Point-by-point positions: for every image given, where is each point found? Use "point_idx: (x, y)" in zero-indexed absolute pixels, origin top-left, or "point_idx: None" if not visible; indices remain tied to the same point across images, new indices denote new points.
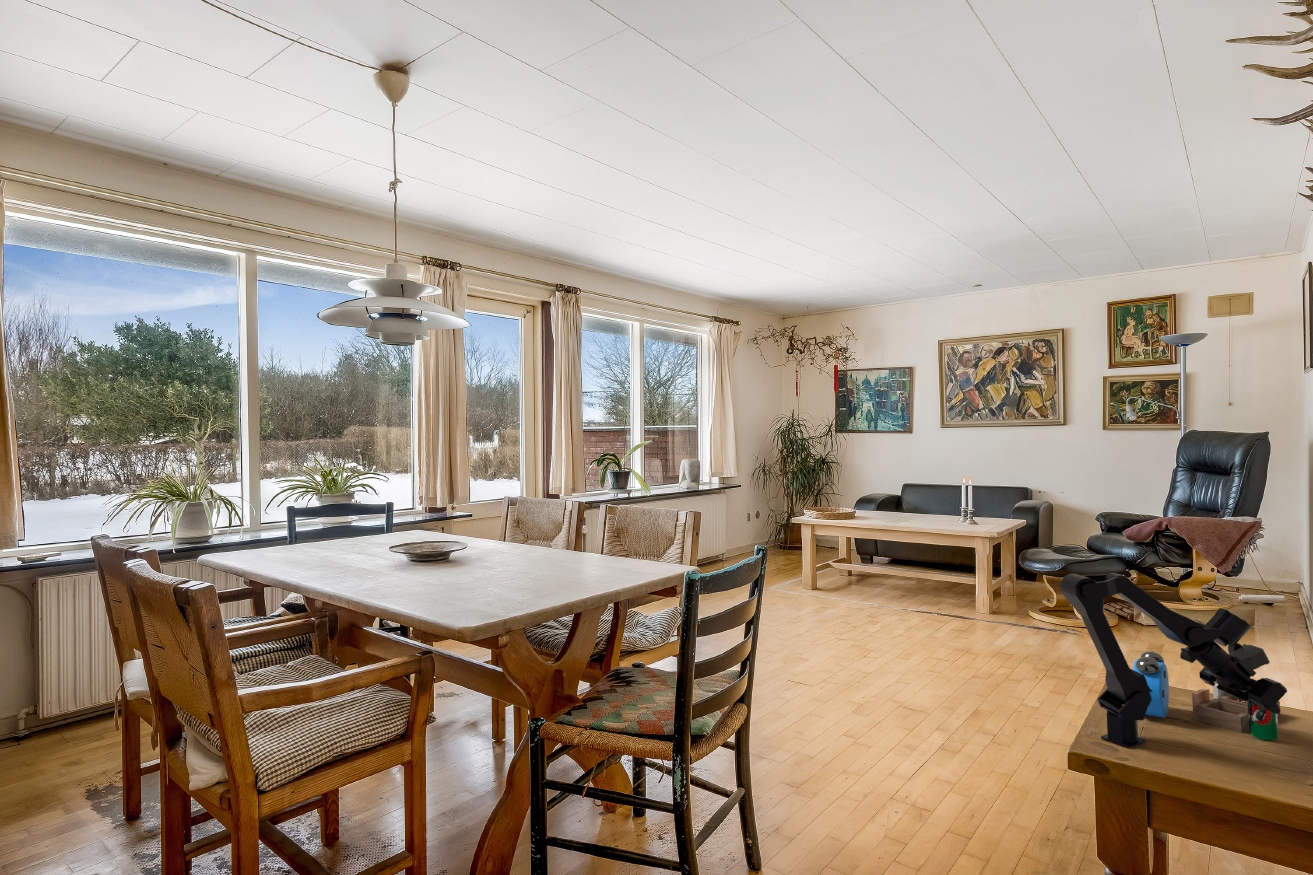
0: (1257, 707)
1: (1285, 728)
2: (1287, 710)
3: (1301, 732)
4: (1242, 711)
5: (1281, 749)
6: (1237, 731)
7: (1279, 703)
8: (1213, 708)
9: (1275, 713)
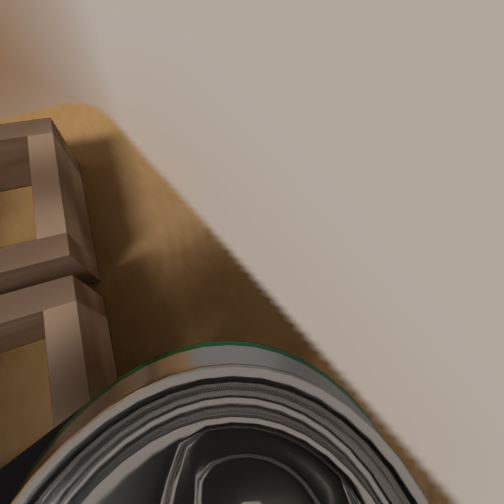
0: None
1: (168, 248)
2: (59, 111)
3: (212, 234)
4: (12, 331)
5: None
6: None
7: (55, 127)
8: None
9: None
